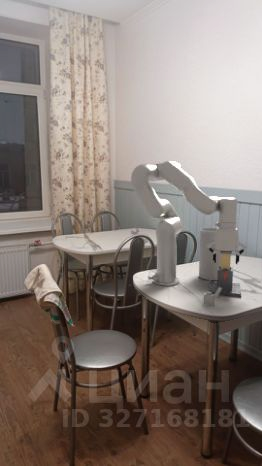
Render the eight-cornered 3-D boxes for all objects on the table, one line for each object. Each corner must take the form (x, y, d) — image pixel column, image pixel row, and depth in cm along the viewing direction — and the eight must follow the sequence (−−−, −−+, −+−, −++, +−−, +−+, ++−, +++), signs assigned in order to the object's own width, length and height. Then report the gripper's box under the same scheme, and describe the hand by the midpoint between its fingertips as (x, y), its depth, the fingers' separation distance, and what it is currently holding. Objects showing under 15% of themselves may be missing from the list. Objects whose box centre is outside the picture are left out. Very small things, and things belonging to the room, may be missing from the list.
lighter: (203, 304, 139) (203, 285, 138) (204, 302, 141) (205, 284, 139) (220, 307, 136) (221, 288, 134) (221, 305, 137) (222, 287, 136)
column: (219, 288, 153) (220, 251, 150) (219, 284, 157) (220, 249, 154) (230, 289, 151) (231, 252, 148) (229, 285, 156) (231, 250, 153)
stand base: (208, 294, 150) (208, 270, 148) (209, 284, 163) (210, 261, 161) (240, 297, 146) (242, 272, 144) (239, 286, 159) (240, 263, 157)
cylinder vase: (226, 280, 168) (228, 231, 163) (201, 280, 168) (203, 231, 163) (219, 273, 180) (221, 227, 176) (196, 273, 180) (198, 227, 176)
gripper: (206, 226, 148) (205, 263, 151) (248, 227, 143) (246, 266, 146) (207, 223, 155) (206, 259, 158) (247, 224, 150) (245, 261, 153)
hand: (225, 262), depth 152 cm, fingers open, 9 cm apart
